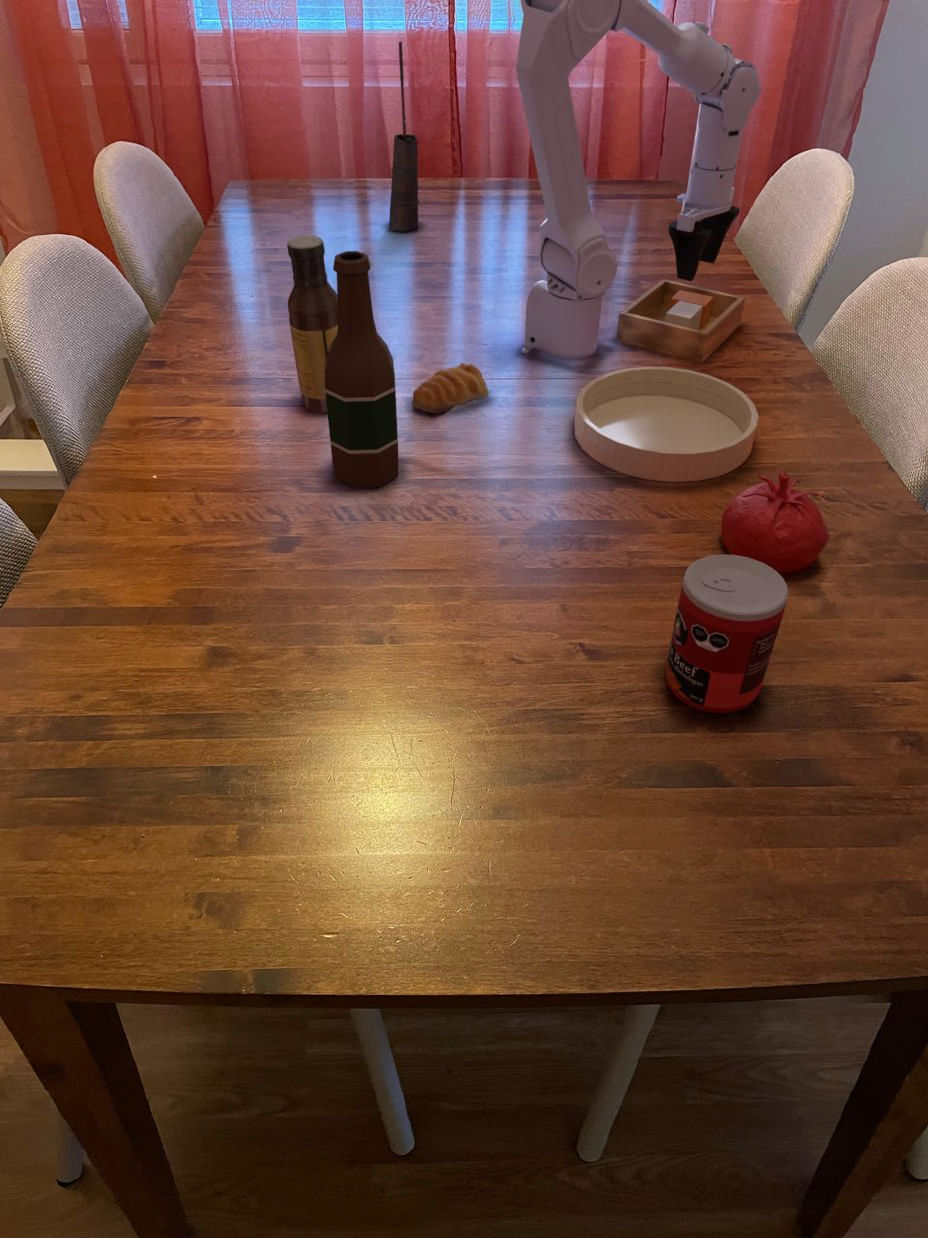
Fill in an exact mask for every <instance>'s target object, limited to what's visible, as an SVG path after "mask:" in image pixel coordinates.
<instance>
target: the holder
mask: <svg viewBox="0 0 928 1238" xmlns="http://www.w3.org/2000/svg"><path fill="white" fill-rule="evenodd" d="M680 290H682V291H687V292H692V293H697V294H702V295H706V296H711V297H714V298H713V304H712V309H711V315H710V320H709V322H708V323H707V324H706V325H705V326H704V327H703V328H702V329H699V330H696V329H692V328H688V327H684V326H679V325H675V324H671V323H667V322H665V319H666V313H667V312H668V311H669V310H670V304H671V298H672V297H673V296H674V295H675V294H676V293H678V292H679V291H680ZM745 302H746V297H744V296H740V295H736V294H732V293H726V292H722V291H719V290H714V289H709V288H704V287H700V286H696V285H692V284H687V283H683V282H678V281H673V280H670V279H669V280H668V279H665V278H662V279H661V280H659V281H657V283H656V284H654V286H652V287H651V288H649V289H648V290H647V291H646V292H644V293H643V294H642V295H640V296H639V297H638V298H637V299H636V300H634V301H633V302H632V303H630V304H629V305H628V306H627V307H625V308H624V309H623V310H622V311H620V312H619V314H618V321H617V322H618V323H617V330H616V331H617V332H616V339H615V341H616V342H619V343H623V344H626V345H631V346H634V347H638V348H641V349H646V350H648V351H649V350H650V351H653V352H657V353H661V354H665V355H668V356H671V357H672V356H673V357H677V358H680V359H685V360H688V361H691V362H696V363H700V364H703V363H704V362H705V361H706V360H707V359H708V358H709V357H710V356H711V355H712V354H713V353H714V352H715V351H716V350H717V349H718V348H719V347H721V345H722V344H723V343H724V342H725V341H726V340H727V339H728V338H729V337H730V336H731V335H732V334H733V333H734V332H735V331H736V330H737V329H738V328H739V327H740V326H741V322H742V319H743V312H744V308H745V307H744V306H745Z"/></svg>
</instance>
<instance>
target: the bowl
mask: <svg viewBox="0 0 928 1238" xmlns="http://www.w3.org/2000/svg"><path fill="white" fill-rule="evenodd" d="M574 411H575V412H574V423H573V427H574V438H575V440H576V441H577V444H578V445H579V446H580V448H581V450H583V452H584V453H585V454H587V455H588V456H589V457H590V458H591V459H593V460H594V461H595V462H597V463H599V464H601V465H602V466H604V467H606V468H609V469H611V470H613V471H616V472H618V473H621V474H624V475H627V476H630V477H633V478H639V479H643V480H647V481H656V482H669V483H687V482H688V483H689V482H699V481H705V480H709V479H714V478H717V477H720V476H723V475H726V474H728V473H730V472H732V471H734V470H736V469H737V468H739V467H740V466H741V465H743V464H744V463H745V461H746V460H747V459H748V458H749V456H750V455H751V452H752V449H753V445H754V440H755V435H756V432H757V427H758V423H759V422H758V421H759V417H760V416H759V413H758V409H757V407H756V405H755V403H754V402H753V400H752V399H750V397H748V395H747V394H746V393H744V392H743V391H742V390H740V389H739V388H737V387H736V386H734V385H733V384H731V383H729V382H727V381H725V380H722V379H720V378H717V377H715V376H712V375H710V374H706V373H703V372H698V371H696V370H695V371H694V370H692V369H691V370H690V369H684V368H676V367H671V366H670V367H669V366H639V367H628V368H623V369H618V370H615V371H610V372H606V373H604V374H602V375H600V376H598V377H596V378H593V379H591V380H590V381H589V382H588V383H586V384H585V385H584V386H583V387H582V388H581V389H580V391H579V393H578V395H577V397H576V400H575V410H574Z"/></svg>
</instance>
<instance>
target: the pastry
mask: <svg viewBox="0 0 928 1238" xmlns="http://www.w3.org/2000/svg"><path fill="white" fill-rule="evenodd" d="M487 396H489V389H488V386H487V383H486V381H485V379H484V377H483V374H482V372H481V370H480V369H479V368H478V367H477V366H475V365H474V364H472V363H468V364H467V363H463V362H462V363H460V364H459V365H457V366H455V367H450V368H446V369H440V370H439V371H436V372H435V373H434V375H432V376H431V377H430V378H428V379H427V380H426V381H423V382H422V383H421V384H420V385H419V386H418V387H417V388H416V389H414V391H413V393H412V403H411V404H412V406H414V407H415V408H416V409H419V410H421V411H424V412H427V413H431V414H434V415H435V414H436V413H437V414H442V413H445V412H450V411H451V410H452V409H453V408H455V407H457V406H462V405H464V404H467V403H469V402H473V401H474V400H477V399H481V398H485V397H487Z"/></svg>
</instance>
